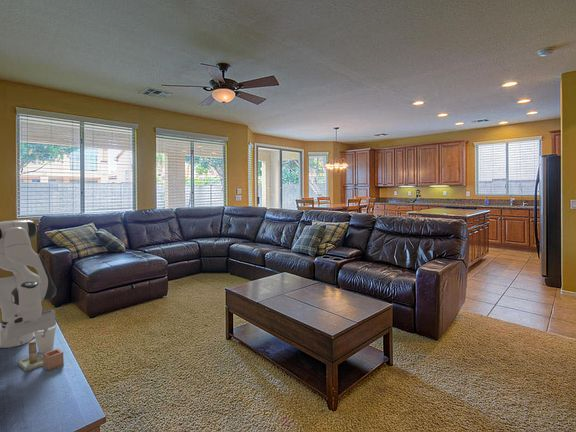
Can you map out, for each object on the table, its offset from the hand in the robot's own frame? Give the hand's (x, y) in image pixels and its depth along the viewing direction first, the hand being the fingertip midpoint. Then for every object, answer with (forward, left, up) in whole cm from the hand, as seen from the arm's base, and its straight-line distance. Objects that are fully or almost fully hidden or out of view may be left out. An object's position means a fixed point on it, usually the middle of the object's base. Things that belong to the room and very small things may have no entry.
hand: (32, 340), depth 159 cm
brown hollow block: (+12, +5, -12) cm, 17 cm away
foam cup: (-10, +9, -12) cm, 19 cm away
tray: (+1, 0, -12) cm, 12 cm away
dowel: (+1, 0, -12) cm, 12 cm away
